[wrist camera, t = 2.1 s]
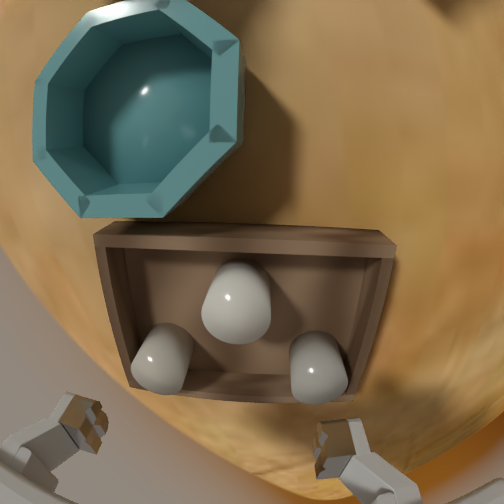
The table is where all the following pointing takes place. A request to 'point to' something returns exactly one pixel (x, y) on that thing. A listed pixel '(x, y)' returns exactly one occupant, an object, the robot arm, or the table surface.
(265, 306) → the pebble
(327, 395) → the pebble
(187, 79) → the bowl
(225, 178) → the table surface
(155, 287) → the tray
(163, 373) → the pebble
